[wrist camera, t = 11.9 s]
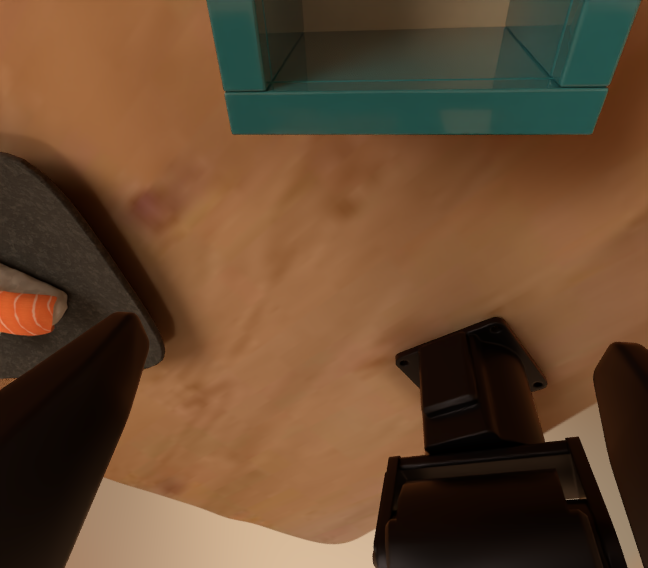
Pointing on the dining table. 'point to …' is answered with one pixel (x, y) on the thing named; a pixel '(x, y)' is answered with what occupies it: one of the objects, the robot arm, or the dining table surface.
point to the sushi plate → (53, 273)
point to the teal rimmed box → (418, 65)
